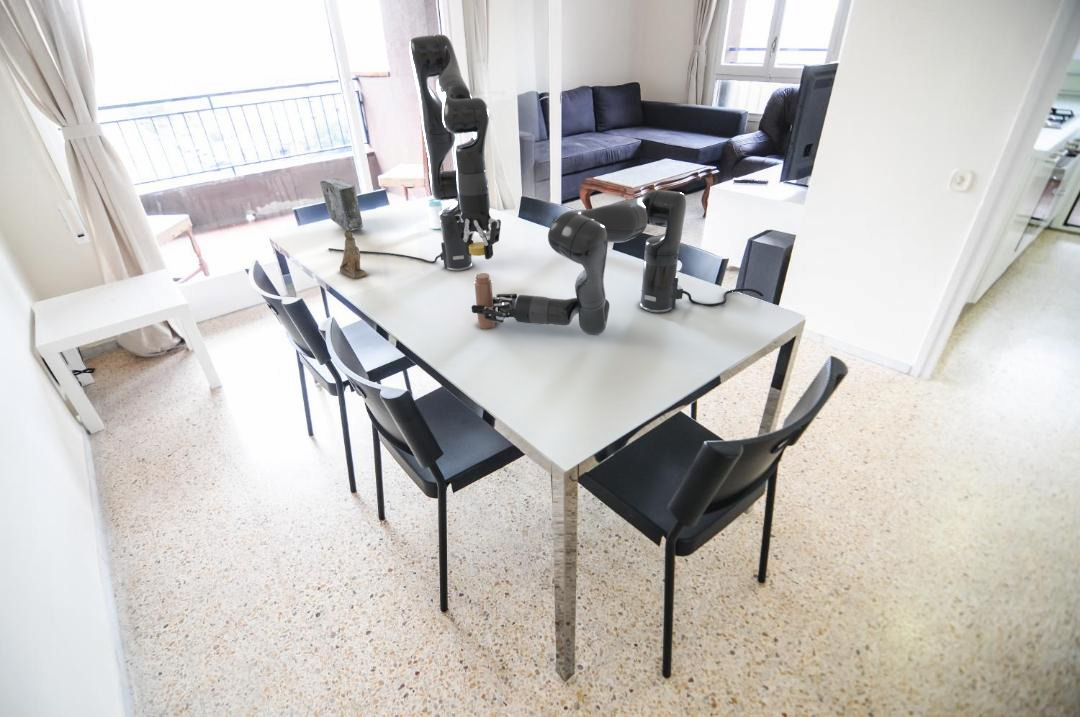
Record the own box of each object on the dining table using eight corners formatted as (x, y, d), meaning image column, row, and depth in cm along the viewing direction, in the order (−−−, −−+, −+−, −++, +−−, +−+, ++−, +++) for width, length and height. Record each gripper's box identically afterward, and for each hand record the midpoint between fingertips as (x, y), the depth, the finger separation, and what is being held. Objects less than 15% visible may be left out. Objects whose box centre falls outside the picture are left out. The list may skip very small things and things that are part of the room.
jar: (492, 319, 143) (488, 271, 136) (496, 326, 140) (493, 277, 132) (476, 322, 142) (471, 273, 134) (480, 330, 138) (476, 280, 130)
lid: (468, 256, 127) (467, 249, 126) (469, 249, 132) (469, 242, 131) (489, 255, 128) (488, 248, 127) (489, 248, 132) (489, 241, 131)
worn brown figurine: (368, 281, 178) (362, 235, 166) (353, 285, 175) (347, 238, 163) (352, 266, 184) (346, 221, 172) (338, 270, 181) (331, 224, 169)
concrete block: (368, 232, 220) (358, 186, 209) (348, 237, 216) (336, 189, 205) (349, 220, 239) (338, 176, 228) (330, 223, 234) (319, 179, 224)
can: (445, 229, 220) (441, 202, 214) (429, 230, 220) (425, 202, 214) (447, 224, 226) (444, 198, 220) (432, 225, 226) (428, 198, 220)
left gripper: (440, 190, 122) (449, 257, 131) (487, 196, 115) (493, 265, 124) (459, 184, 127) (467, 248, 136) (506, 189, 121) (510, 256, 130)
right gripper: (540, 286, 138) (483, 282, 142) (526, 308, 126) (464, 303, 131) (541, 310, 142) (485, 306, 146) (527, 334, 130) (467, 328, 134)
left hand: (479, 256), depth 130 cm, fingers closed on lid, 5 cm apart
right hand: (476, 304), depth 138 cm, fingers closed on jar, 4 cm apart
